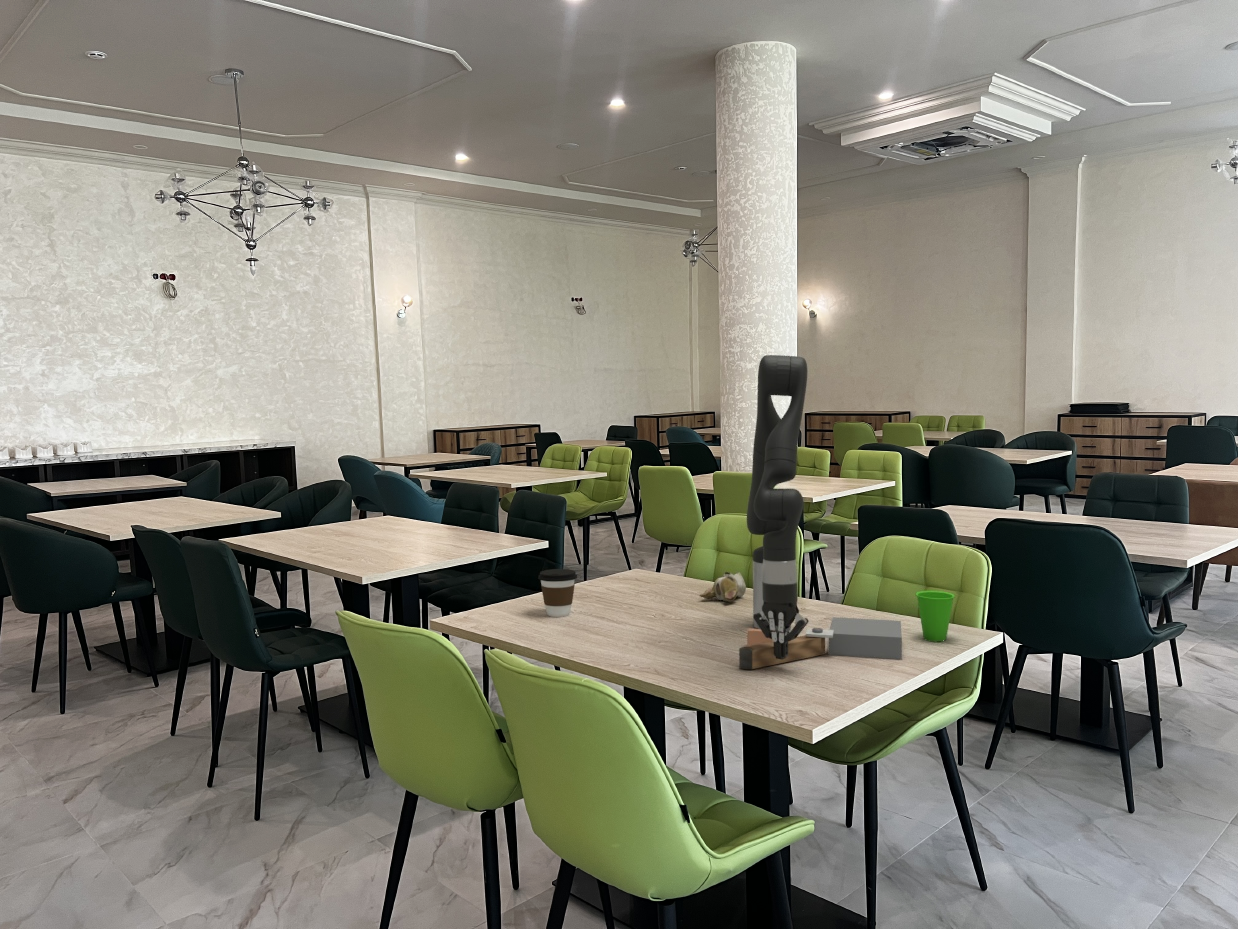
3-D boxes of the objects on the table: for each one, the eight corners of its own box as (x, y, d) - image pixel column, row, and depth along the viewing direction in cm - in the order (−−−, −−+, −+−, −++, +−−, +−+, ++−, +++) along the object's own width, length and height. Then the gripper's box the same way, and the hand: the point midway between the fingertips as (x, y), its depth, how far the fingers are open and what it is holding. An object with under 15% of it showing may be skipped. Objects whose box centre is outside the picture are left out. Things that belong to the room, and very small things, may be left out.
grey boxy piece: (755, 632, 224) (755, 610, 223) (900, 641, 214) (900, 617, 213) (744, 652, 206) (744, 627, 206) (901, 662, 196) (901, 636, 196)
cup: (952, 635, 218) (953, 591, 218) (956, 645, 210) (956, 599, 209) (914, 633, 221) (914, 590, 220) (916, 642, 212) (916, 597, 211)
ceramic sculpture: (754, 568, 264) (727, 579, 252) (756, 597, 265) (728, 609, 253) (724, 565, 271) (696, 576, 259) (726, 593, 272) (698, 605, 260)
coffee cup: (573, 619, 240) (572, 576, 240) (534, 618, 242) (533, 575, 241) (581, 610, 251) (580, 568, 250) (544, 609, 253) (543, 568, 252)
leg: (817, 649, 206) (817, 633, 206) (828, 653, 203) (828, 636, 203) (736, 666, 194) (735, 648, 194) (746, 670, 191) (746, 652, 191)
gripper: (815, 580, 191) (816, 659, 192) (761, 574, 199) (763, 650, 200) (798, 585, 185) (800, 667, 186) (744, 579, 194) (745, 657, 194)
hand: (780, 658), depth 193 cm, fingers closed
